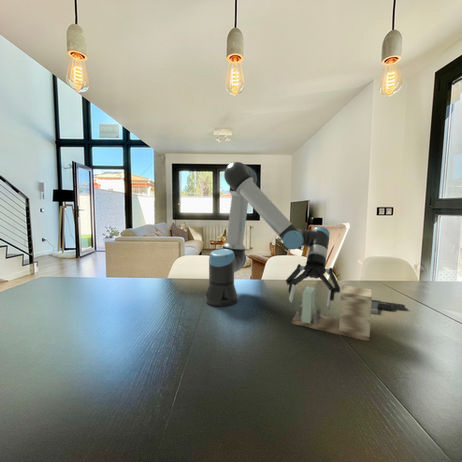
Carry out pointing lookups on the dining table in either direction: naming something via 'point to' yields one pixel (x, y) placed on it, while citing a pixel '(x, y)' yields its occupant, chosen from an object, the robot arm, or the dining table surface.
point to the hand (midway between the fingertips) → (308, 304)
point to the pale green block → (308, 304)
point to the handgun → (385, 306)
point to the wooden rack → (345, 315)
